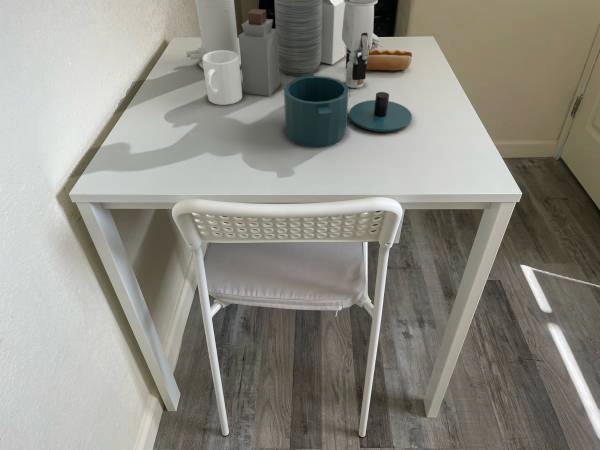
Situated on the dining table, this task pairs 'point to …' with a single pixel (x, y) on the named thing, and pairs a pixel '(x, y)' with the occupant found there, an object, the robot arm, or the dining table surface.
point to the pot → (315, 110)
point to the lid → (380, 114)
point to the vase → (299, 35)
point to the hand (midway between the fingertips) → (355, 73)
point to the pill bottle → (349, 80)
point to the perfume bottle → (259, 54)
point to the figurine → (374, 45)
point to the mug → (222, 77)
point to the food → (388, 60)
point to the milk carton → (332, 31)
